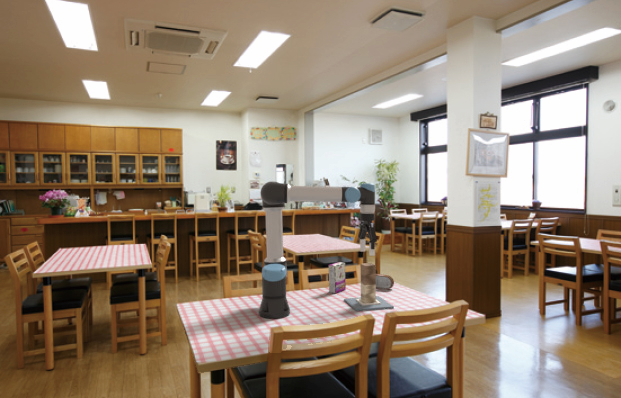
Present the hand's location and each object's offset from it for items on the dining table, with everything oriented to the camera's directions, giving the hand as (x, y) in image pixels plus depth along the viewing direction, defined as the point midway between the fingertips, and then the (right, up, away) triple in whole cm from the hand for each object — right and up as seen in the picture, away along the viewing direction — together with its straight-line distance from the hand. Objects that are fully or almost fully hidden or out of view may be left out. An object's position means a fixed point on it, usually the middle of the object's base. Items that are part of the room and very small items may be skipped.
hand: (367, 253), depth 213 cm
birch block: (+1, -26, +1) cm, 26 cm away
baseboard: (+1, -27, +1) cm, 27 cm away
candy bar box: (-14, -26, +28) cm, 41 cm away
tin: (+13, -26, +34) cm, 45 cm away
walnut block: (+1, -16, 0) cm, 16 cm away
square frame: (+1, -27, +1) cm, 27 cm away
